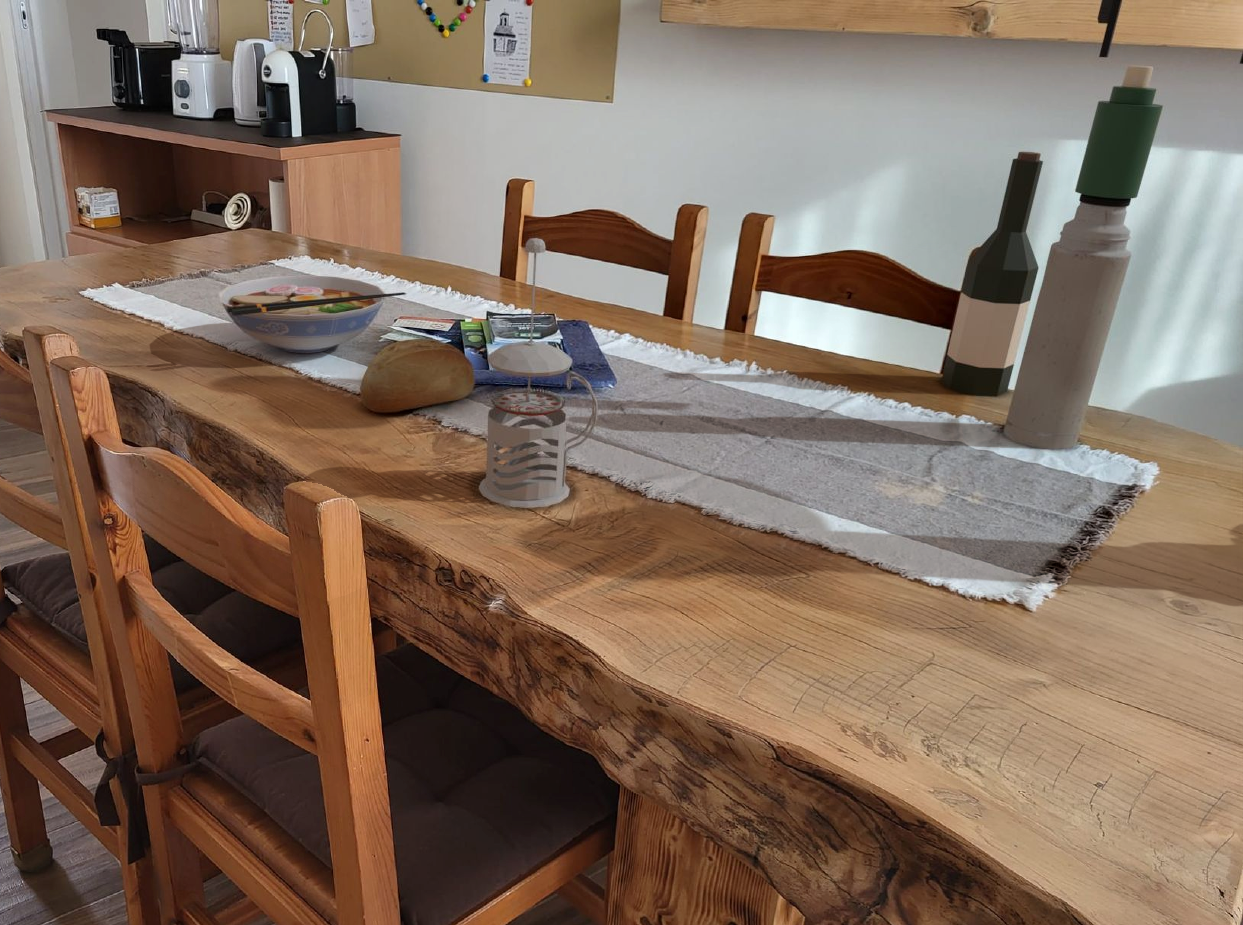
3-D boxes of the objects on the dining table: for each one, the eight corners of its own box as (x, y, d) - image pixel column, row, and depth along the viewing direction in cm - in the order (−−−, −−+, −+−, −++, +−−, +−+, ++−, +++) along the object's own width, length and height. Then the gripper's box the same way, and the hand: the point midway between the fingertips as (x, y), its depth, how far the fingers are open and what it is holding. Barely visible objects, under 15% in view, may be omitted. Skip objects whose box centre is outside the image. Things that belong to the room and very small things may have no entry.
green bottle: (1138, 193, 116) (1174, 67, 111) (1135, 200, 112) (1173, 68, 106) (1077, 187, 119) (1110, 63, 113) (1072, 194, 114) (1105, 65, 109)
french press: (473, 472, 113) (479, 226, 101) (583, 473, 113) (601, 229, 102) (477, 512, 104) (484, 247, 93) (596, 512, 105) (617, 250, 94)
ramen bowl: (353, 317, 166) (352, 263, 162) (422, 356, 149) (422, 297, 145) (192, 335, 154) (186, 278, 150) (247, 381, 136) (242, 317, 133)
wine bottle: (942, 376, 150) (993, 146, 136) (1006, 385, 147) (1065, 152, 133) (938, 393, 143) (992, 153, 129) (1006, 403, 140) (1068, 159, 126)
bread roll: (493, 407, 131) (495, 342, 127) (384, 427, 123) (383, 359, 120) (452, 384, 138) (453, 323, 134) (346, 403, 130) (344, 338, 127)
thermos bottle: (1004, 423, 133) (1065, 186, 120) (1075, 435, 130) (1145, 193, 117) (1001, 444, 126) (1065, 195, 113) (1076, 457, 123) (1150, 203, 111)
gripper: (1097, -172, 111) (1045, 54, 121) (1392, -182, 100) (1309, 67, 110) (1102, -161, 117) (1052, 54, 127) (1381, -170, 106) (1303, 65, 116)
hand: (1171, 60), depth 118 cm, fingers open, 13 cm apart
